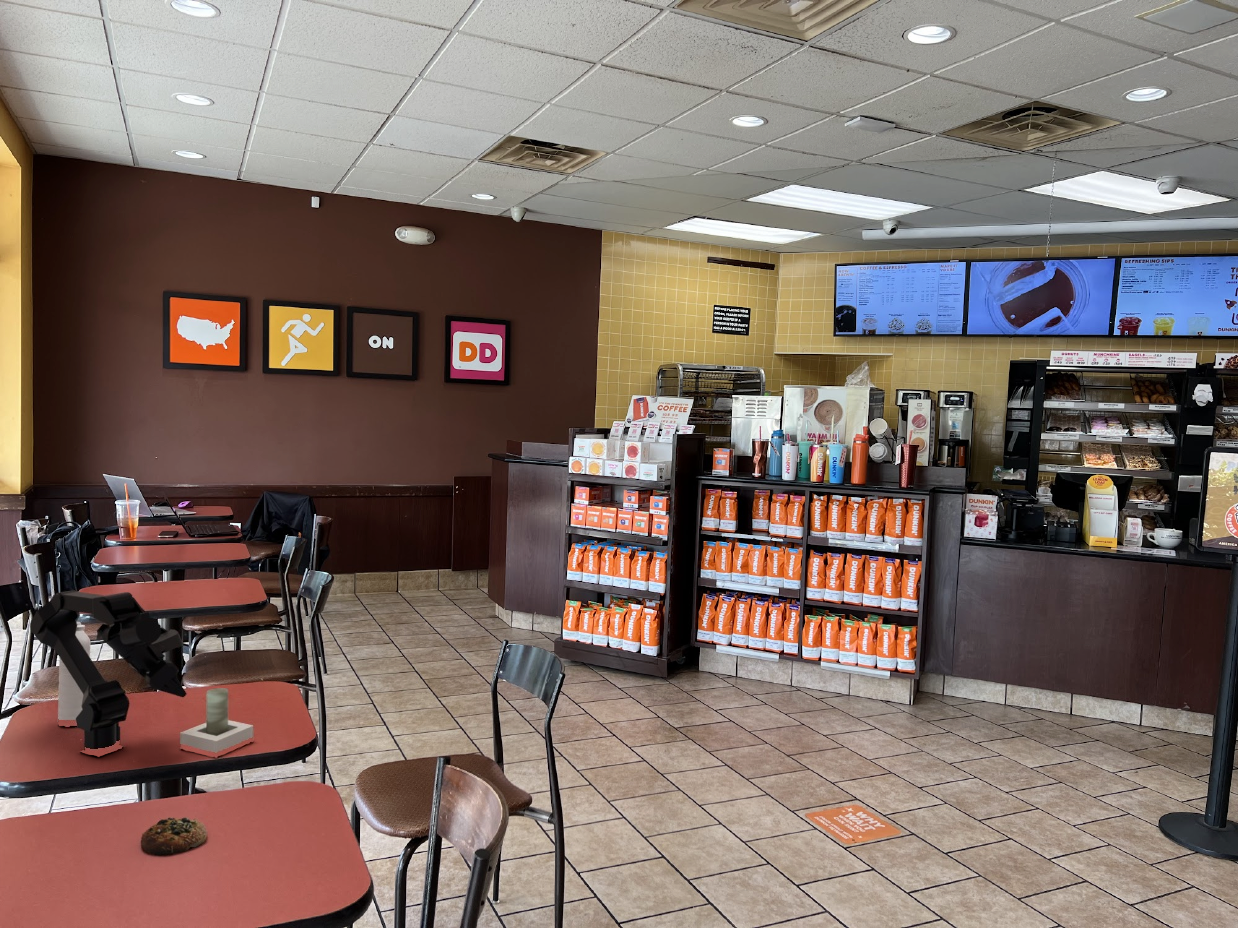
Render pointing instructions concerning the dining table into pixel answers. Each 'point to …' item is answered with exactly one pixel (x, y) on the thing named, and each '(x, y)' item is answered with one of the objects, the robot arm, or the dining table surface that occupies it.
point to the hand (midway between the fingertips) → (179, 690)
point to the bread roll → (173, 836)
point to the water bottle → (71, 684)
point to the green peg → (217, 711)
